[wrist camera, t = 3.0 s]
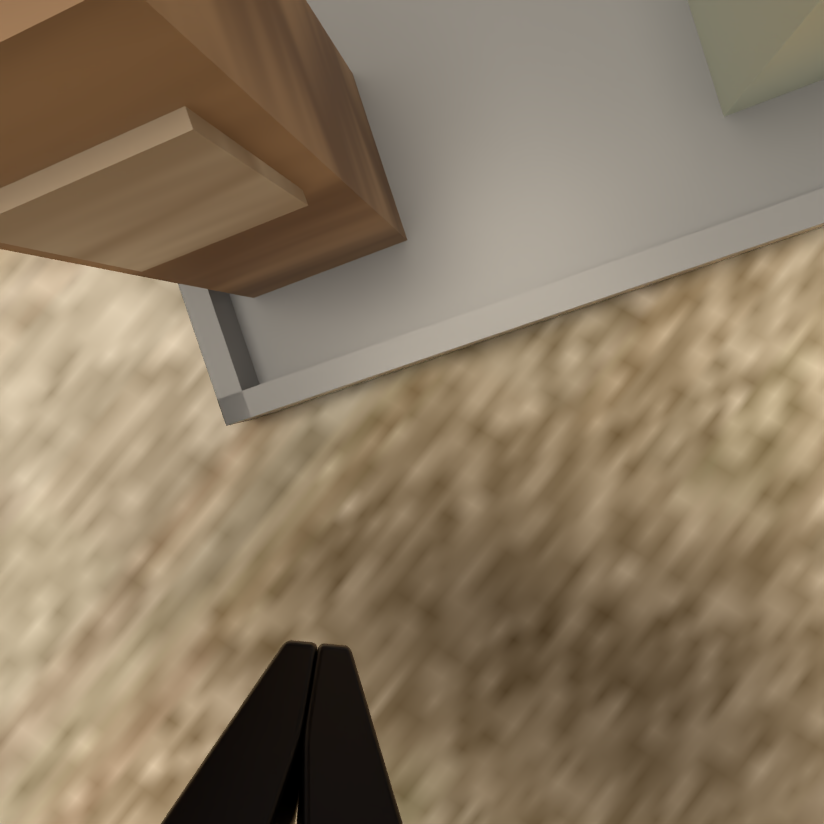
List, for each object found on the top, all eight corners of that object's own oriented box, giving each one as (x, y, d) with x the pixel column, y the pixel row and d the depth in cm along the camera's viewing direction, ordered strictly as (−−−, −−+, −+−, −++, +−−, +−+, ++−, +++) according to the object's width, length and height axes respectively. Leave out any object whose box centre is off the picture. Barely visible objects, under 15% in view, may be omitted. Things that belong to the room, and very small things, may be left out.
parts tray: (1017, 160, 17) (1080, 135, 15) (253, 418, 22) (226, 425, 20) (880, -299, 17) (925, -383, 15) (130, 54, 21) (89, 23, 19)
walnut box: (410, 250, 20) (136, 15, 6) (256, 307, 21) (-289, 218, 7) (352, 73, 20) (-69, -589, 6) (199, 139, 20) (-474, -295, 7)
